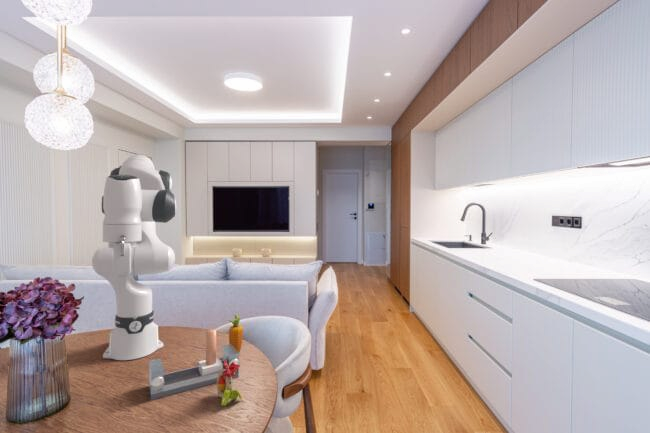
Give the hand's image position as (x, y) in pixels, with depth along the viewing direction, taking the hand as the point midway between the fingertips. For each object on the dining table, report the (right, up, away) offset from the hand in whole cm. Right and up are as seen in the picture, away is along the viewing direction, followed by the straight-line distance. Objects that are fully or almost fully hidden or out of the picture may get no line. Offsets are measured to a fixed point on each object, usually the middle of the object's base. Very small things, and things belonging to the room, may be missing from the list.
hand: (122, 285), depth 85 cm
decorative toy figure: (+27, -32, +2) cm, 42 cm away
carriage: (+19, -30, +13) cm, 38 cm away
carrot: (+23, -32, +26) cm, 47 cm away
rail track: (+15, -31, +11) cm, 36 cm away
